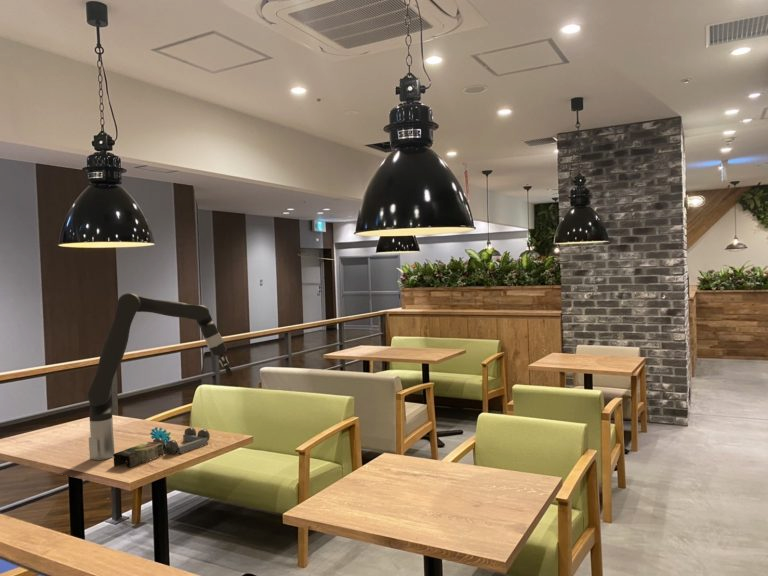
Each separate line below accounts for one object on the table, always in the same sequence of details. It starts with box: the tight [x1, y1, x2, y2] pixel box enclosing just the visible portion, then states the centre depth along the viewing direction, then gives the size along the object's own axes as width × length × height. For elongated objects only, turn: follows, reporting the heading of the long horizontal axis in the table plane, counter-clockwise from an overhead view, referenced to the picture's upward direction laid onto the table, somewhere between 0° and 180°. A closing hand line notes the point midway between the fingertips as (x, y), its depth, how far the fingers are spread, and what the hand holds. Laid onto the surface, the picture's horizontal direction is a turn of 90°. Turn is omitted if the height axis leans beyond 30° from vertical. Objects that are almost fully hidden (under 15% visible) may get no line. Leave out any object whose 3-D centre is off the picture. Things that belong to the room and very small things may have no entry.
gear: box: [149, 426, 172, 444], centre depth 278 cm, size 11×6×10 cm
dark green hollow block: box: [113, 441, 165, 468], centre depth 254 cm, size 20×10×6 cm, turn 155°
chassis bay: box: [152, 426, 211, 455], centre depth 270 cm, size 20×16×6 cm
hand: (230, 374), depth 278 cm, fingers open, 8 cm apart
